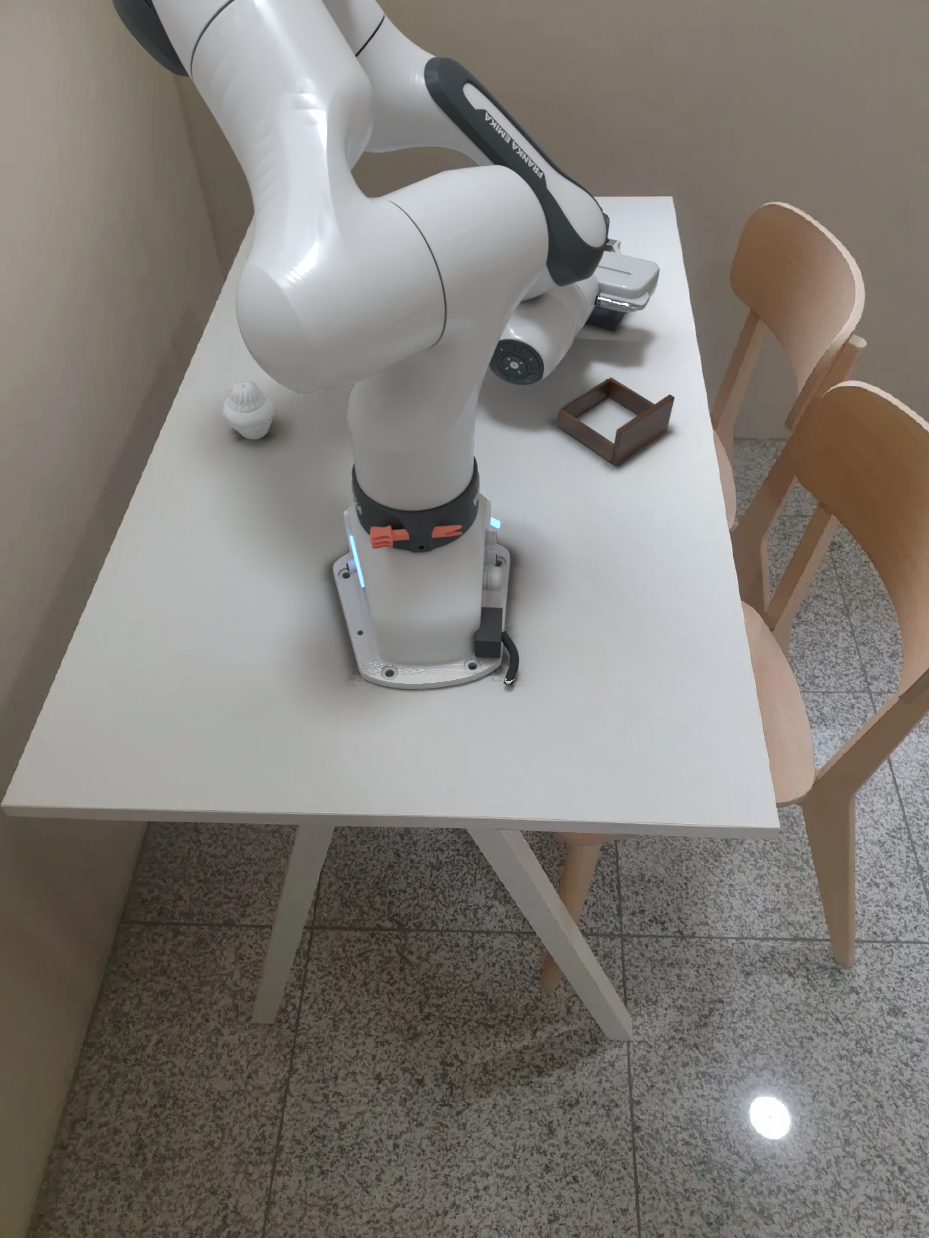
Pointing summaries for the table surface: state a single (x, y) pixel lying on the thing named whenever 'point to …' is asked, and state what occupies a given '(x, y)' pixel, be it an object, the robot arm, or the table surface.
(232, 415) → the muffin
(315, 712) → the table surface
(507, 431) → the table surface
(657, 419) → the wooden square frame
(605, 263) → the robot arm
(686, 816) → the table surface
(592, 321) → the mat
